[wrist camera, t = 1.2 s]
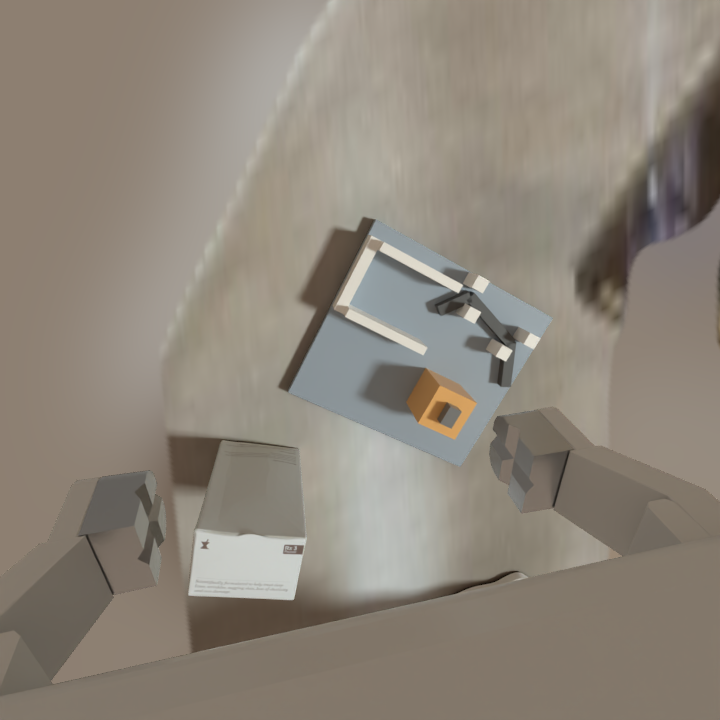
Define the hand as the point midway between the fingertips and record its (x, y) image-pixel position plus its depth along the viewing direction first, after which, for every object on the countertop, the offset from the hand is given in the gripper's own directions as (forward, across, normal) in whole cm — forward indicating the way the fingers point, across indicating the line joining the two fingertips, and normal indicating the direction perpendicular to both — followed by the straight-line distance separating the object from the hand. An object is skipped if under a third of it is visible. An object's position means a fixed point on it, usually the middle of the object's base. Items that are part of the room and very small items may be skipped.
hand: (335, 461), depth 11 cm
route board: (+30, +13, -15) cm, 36 cm away
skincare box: (+29, -4, -26) cm, 39 cm away
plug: (+28, +14, -19) cm, 37 cm away
